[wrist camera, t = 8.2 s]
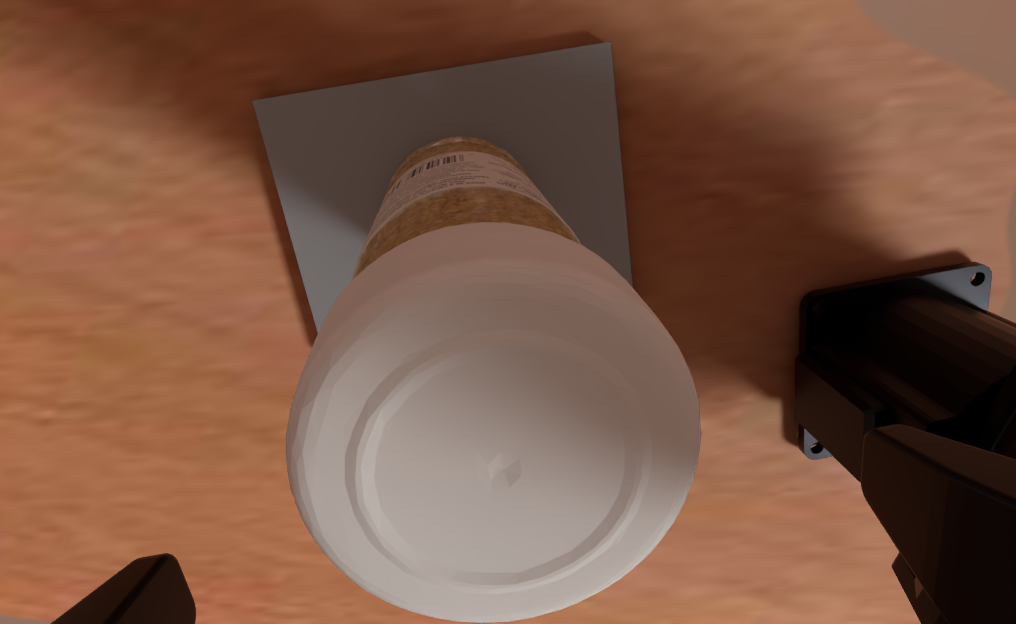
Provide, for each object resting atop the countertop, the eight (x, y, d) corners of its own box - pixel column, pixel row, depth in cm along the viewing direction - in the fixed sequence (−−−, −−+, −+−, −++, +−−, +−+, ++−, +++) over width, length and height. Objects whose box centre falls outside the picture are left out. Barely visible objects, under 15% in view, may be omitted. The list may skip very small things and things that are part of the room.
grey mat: (605, 42, 19) (610, 41, 18) (629, 300, 21) (634, 306, 21) (257, 99, 18) (251, 100, 18) (329, 355, 21) (326, 362, 21)
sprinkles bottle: (414, 302, 20) (371, 688, 8) (360, 159, 18) (192, 351, 6) (555, 258, 20) (745, 573, 8) (514, 110, 18) (670, 200, 6)
